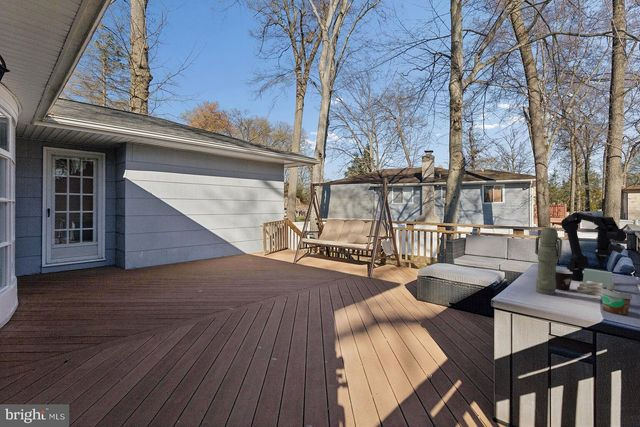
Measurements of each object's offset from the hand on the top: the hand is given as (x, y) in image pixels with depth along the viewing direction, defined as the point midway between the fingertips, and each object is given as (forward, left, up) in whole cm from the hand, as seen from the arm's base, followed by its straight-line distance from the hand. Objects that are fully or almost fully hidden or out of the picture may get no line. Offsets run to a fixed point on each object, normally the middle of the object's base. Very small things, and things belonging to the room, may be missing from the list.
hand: (601, 265), depth 183 cm
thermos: (-20, -34, -13) cm, 42 cm away
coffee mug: (-16, -20, -13) cm, 29 cm away
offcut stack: (-1, -13, -13) cm, 19 cm away
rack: (-1, -6, -13) cm, 14 cm away
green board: (-1, -1, -13) cm, 13 cm away
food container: (+7, -46, -13) cm, 48 cm away
